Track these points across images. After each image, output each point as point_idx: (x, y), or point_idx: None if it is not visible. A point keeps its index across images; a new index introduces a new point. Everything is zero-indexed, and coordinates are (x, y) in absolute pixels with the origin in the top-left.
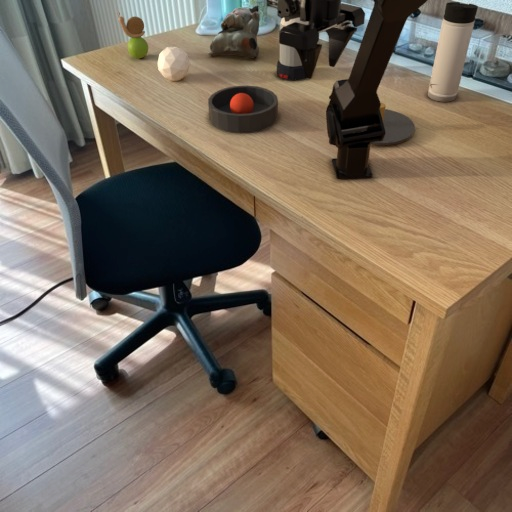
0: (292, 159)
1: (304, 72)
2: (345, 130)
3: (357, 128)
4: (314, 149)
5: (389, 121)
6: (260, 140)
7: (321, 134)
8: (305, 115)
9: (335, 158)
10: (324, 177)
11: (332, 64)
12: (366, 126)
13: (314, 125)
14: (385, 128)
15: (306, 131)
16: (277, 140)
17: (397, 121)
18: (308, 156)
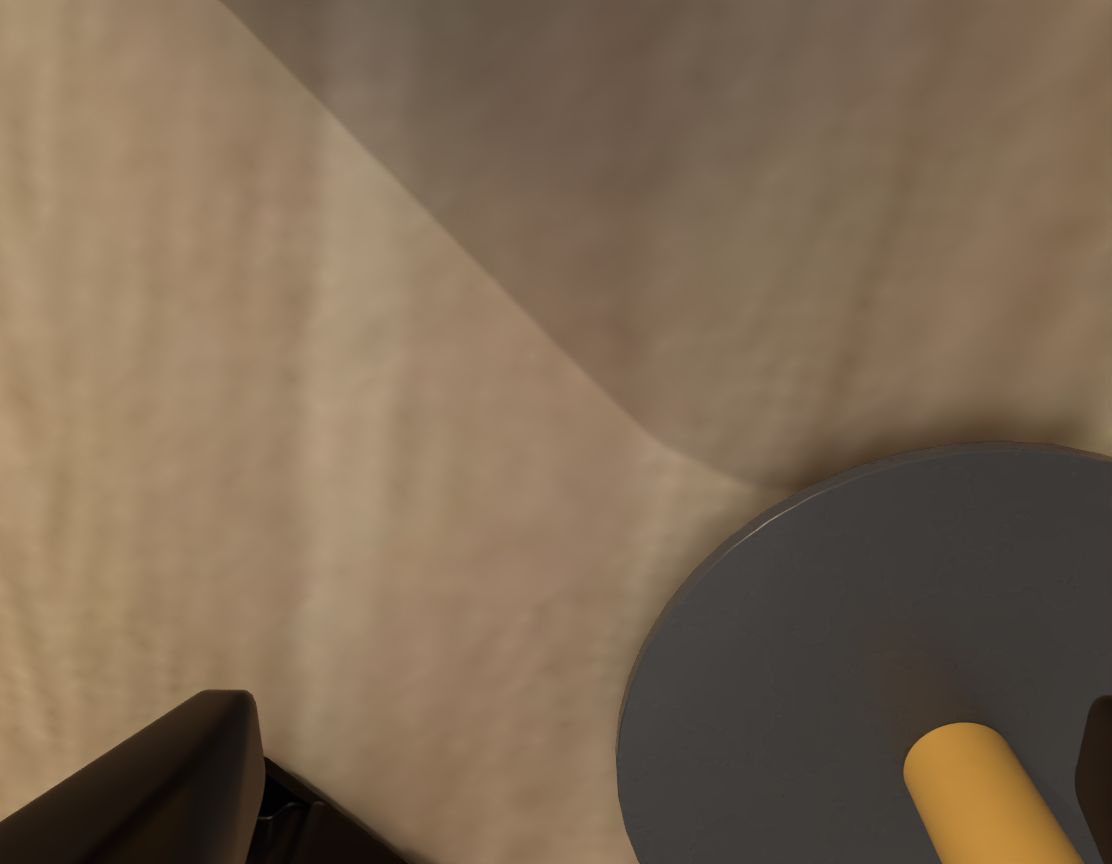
0: (38, 511)
1: (108, 755)
2: (685, 633)
3: (784, 689)
4: (301, 549)
5: (1073, 812)
6: (24, 39)
7: (561, 441)
8: (817, 43)
9: (269, 779)
10: None
11: (1100, 805)
12: (868, 724)
13: (673, 277)
14: (926, 846)
15: (514, 294)
16: (163, 185)
17: None
18: (177, 578)
